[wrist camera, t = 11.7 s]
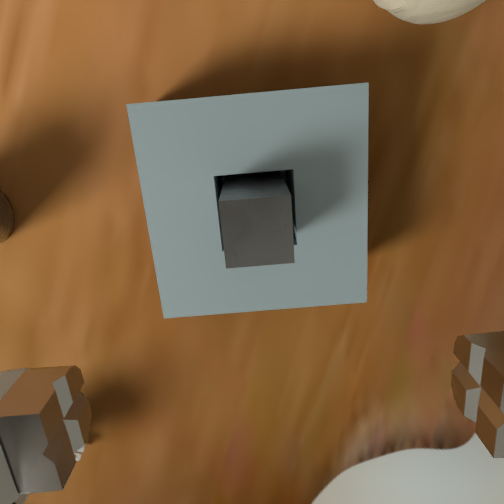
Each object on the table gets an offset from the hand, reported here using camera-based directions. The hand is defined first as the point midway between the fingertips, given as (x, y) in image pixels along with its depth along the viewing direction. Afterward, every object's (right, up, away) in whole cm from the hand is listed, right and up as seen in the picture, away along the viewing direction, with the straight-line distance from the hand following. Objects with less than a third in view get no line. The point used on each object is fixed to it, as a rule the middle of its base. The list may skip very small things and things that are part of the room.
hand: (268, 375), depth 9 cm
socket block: (0, +7, +19) cm, 20 cm away
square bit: (0, +7, +18) cm, 19 cm away
